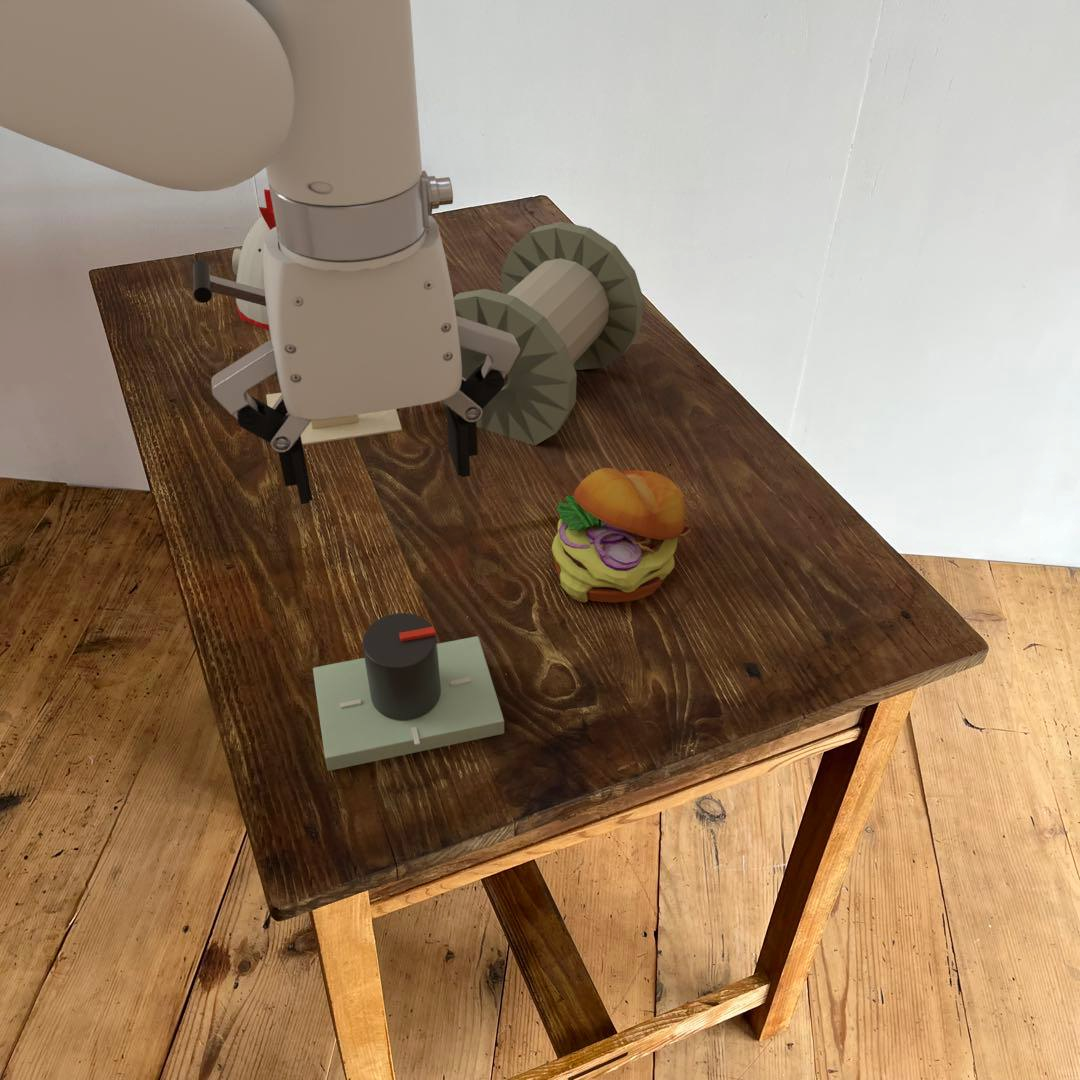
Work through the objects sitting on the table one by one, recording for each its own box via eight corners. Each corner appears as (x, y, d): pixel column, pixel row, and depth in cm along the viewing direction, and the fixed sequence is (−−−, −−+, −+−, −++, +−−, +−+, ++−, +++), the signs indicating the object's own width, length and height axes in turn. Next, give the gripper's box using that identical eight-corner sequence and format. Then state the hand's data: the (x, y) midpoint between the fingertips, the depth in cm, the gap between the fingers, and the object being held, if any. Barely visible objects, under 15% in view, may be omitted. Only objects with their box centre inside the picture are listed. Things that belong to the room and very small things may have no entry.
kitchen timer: (215, 328, 111) (184, 196, 101) (275, 271, 121) (252, 145, 111) (331, 348, 108) (311, 214, 98) (383, 288, 118) (369, 161, 108)
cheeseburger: (518, 571, 83) (538, 463, 78) (600, 534, 90) (624, 434, 85) (611, 633, 78) (639, 523, 73) (691, 589, 85) (722, 486, 80)
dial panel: (331, 791, 67) (325, 763, 65) (317, 689, 74) (311, 660, 72) (506, 753, 70) (506, 725, 68) (478, 657, 76) (477, 629, 74)
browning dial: (376, 727, 68) (367, 670, 64) (366, 673, 71) (357, 616, 67) (447, 712, 69) (442, 655, 65) (433, 660, 72) (428, 603, 68)
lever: (190, 305, 84) (197, 280, 83) (189, 277, 88) (196, 252, 87) (331, 341, 90) (339, 318, 89) (325, 314, 93) (333, 291, 92)
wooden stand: (274, 459, 94) (247, 328, 85) (268, 405, 100) (241, 278, 91) (403, 439, 96) (390, 310, 87) (388, 388, 103) (374, 262, 94)
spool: (509, 341, 110) (507, 208, 100) (637, 377, 105) (648, 241, 95) (428, 420, 99) (417, 280, 89) (566, 465, 94) (570, 321, 84)
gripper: (498, 165, 55) (503, 420, 67) (171, 199, 52) (236, 463, 63) (535, 223, 50) (534, 490, 62) (173, 266, 47) (243, 541, 58)
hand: (383, 476), depth 63 cm, fingers open, 9 cm apart
